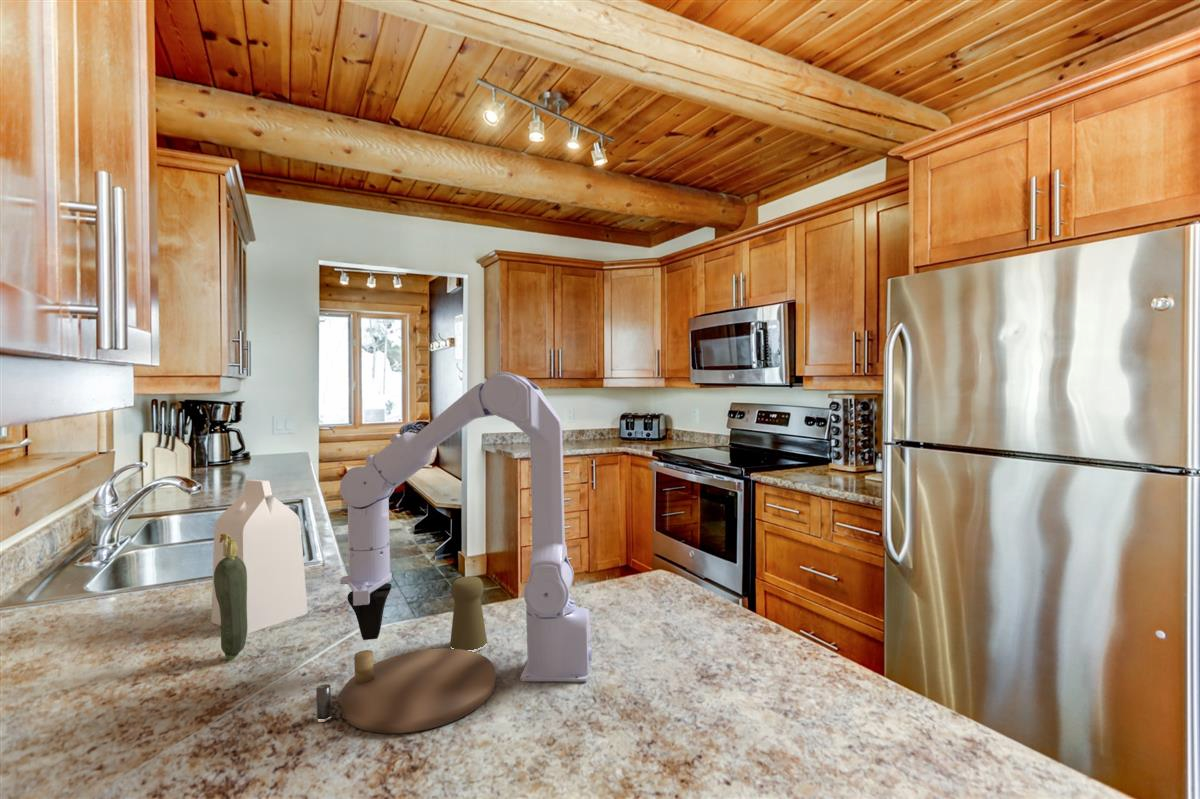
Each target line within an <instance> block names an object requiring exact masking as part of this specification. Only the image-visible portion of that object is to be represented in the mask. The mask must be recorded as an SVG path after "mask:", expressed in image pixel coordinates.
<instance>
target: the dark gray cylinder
mask: <svg viewBox="0 0 1200 799" xmlns="http://www.w3.org/2000/svg"><path fill="white" fill-rule="evenodd" d="M315 690H316V693H315V695H316V697H315V698H316V719H317V718H318V719H326V718H328V717H330V716H331V717H332V701H331V700H332V698H331V697H332V696H331V693H332V692H331V685H330V684H329V683H328V684H327V683H325V684H321V685H318V686H317V687H316V689H315Z"/></svg>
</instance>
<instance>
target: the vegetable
mask: <svg viewBox="0 0 1200 799" xmlns="http://www.w3.org/2000/svg"><path fill="white" fill-rule="evenodd" d="M222 539H223V540H224V544H223V556H225V557H226V558H224V559H222V560H221V561H220V562H219V563H218V565H217V566H216V569H215V572H214V586H215V592H216V598H217V601H218V603H219V607H220V616H221V626H220V647H221V650H222V652H223V653H224V659H225V660H231V661H232V660H234V659H235V658H236V657H237V656H238V655H239V653H241V651H242V650H243V649H244V648H245V646H246V642H247V636H248V634H247V627H248V626H247V570H246V567H245V564H244V562H243V561H242V560H241V559H240V558H238V557H237V553H238V552H237V551H238V546H237V543H236V542H235V541H234V539H232V537H231V536H229V535H228V534H225V533H222V534H221V538H220V542H219V543H221V542H222V541H223V540H222Z"/></svg>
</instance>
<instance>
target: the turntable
mask: <svg viewBox="0 0 1200 799" xmlns="http://www.w3.org/2000/svg"><path fill="white" fill-rule="evenodd" d="M353 657H354V660H353V661H354V662H353V663H354V676H353V677H351V678H350V679H349V680H348V681H347V682H346V684H345V685H344V686H343V688H342V690H341V693H340V711H342V713H341V715H342V714H343V716H344V717H343V716H342V717H343V719H344V718H346V720H347V721H348V722H349V723H350V724H349V723H348V722H347V721H346V720H345V721H346V722H347V723H348V724H349V725H351V724H352V725H351V726H353V727H355V728H357V729H359V730H363V731H366V732H371V733H378V734H379V733H380V734H403V733H407V734H408V733H414V732H419V731H425V730H430V729H433V728H434V729H435V728H436V727H441V726H444V725H446V724H449V723H453V722H454V721H458V720H460V719H461V718H463V717H465V716H468V715H469V714H471V713H473V712H474V711H476V710H477V709H478V708H480V707H481V706H482V705H484V704H485V703H486V702H487V701H488V700H489V698H490V697H491V696H492V694H493V693H494V690H495V688H496V682H497V681H496V668H495V666H494V664H493V662H492V661H491V660H490V659H489V658H487V657H486V656H484V655H483V654H481V653H479V652H472V651H467V650H462V649H450V648H446V647H445V648H430V649H429V648H428V649H421V650H414V651H410V652H405V653H401V654H398V655H394V656H391V657H388V658H385V659H382V660H380V661H377V662H375V663H374V651H373V650H372V649H371V650H370V649H367V650H361V651H358V652H356V653H355V654H354V655H353Z"/></svg>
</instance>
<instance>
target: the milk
mask: <svg viewBox="0 0 1200 799" xmlns="http://www.w3.org/2000/svg"><path fill="white" fill-rule="evenodd" d="M213 533H214V534H213V561H212V563H213V564H212V590H211V591H212V592H211V595H212V596H211V623H212V622H213V624H214V625H218V626H220V627H221V616H220V607H219V603H218V601H217V598H216V592H215V586H214V572H215V569H216V566H217V565H218V563H219V562H220V561H221V560H222V559H224V558H226V557H225V556H223V544H224V540H223V539H222V540H223V541H222V542H221V543H219V542H220V538H221V534H222V533H225V534H228V535H229V536H231V537H232V539H234V541H235V542H236V543H237V546H238V551H237V552H238V553H237V557H238V558H240V559H241V560H242V561H243V562H244V564H245V567H246V570H247V626H248V627H247V635H248V634H250V633H254V632H257V631H261V630H262V629H266V628H269V627H271V626H274V625H277V624H278V625H279V624H281V623H283V622H287V621H289V620H293V619H295V618H298V617H302V616H305V615H307V614H309V610H308V598H307V588H306V577H305V576H306V575H305V566H304V565H305V564H304V563H305V562H304V561H305V560H304V552H303V539H302V538H303V537H302V527H301V520H300V518H299V515H297V513H296V512H295V511H293V510H292V509H291V508H290V507H288V506H287V505H286V504H284V503H283V502H281V501H280V500H279V499H277V498H276V497H275V496H273V492H272V487H271V483H270V480H264V479H253V478H251V479H246V480H245V481H244V487H243V491H242V494H241V495H240V496H239V497H238V498H237V499H236V500H235V501H233V503H232V504H231V505H230V506H229V507H228V508H227V509H225V511H224V512H222V514H221V515H220V516H219V517H218V518H217V520H216V521H215V523H214V529H213Z"/></svg>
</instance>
